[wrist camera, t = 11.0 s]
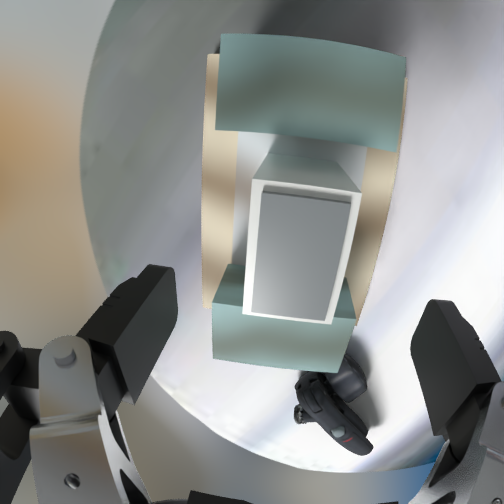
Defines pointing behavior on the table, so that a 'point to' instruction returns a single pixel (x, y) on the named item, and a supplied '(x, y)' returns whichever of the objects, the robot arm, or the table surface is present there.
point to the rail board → (302, 145)
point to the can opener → (334, 404)
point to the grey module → (298, 238)
